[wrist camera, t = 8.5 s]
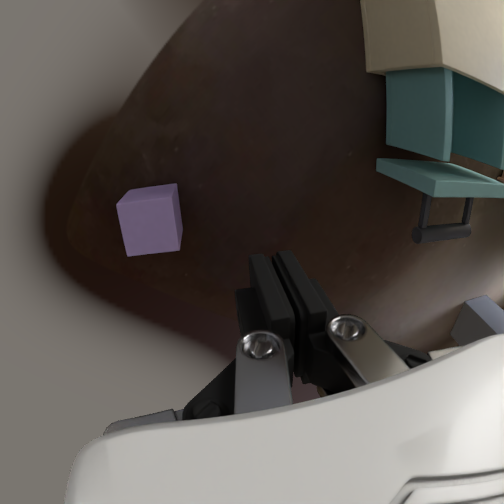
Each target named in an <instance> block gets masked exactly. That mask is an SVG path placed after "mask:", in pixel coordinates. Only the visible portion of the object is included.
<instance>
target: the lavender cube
mask: <svg viewBox="0 0 504 504" xmlns="http://www.w3.org/2000/svg"><path fill="white" fill-rule="evenodd" d="M116 207H117V212H118V217H119V222H120V227H121V231H122V236H123V240H124V244H125V249H126V253H127V256H135V255H144V254H153V253H162V252H171V251H179V250H180V245H181V238H182V232H183V226H182V219H181V212H180V204H179V196H178V188H177V183H175V184H167V185H159V186H152V187H145V188H138V189H132V190H129V191H128V192H127V193H126V194H125V195H124V196H123V197H122V199H121V200H120V201H119V202H118V203H117V204H116Z"/></svg>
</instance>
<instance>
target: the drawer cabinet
mask: <svg viewBox="0 0 504 504" xmlns="http://www.w3.org/2000/svg"><path fill="white" fill-rule="evenodd" d="M360 4H361V12H362V21H363V31H364V43H365V57H366V72H368V73H374V74H379V75H384V76H386V72H387V71H395V70H405V69H416V68H431V67H444V68H446V69H449V70H452V71H454V72H457V73H459V74H461V75H464V76H466V77H468V78H471V79H473V80H475V81H477V82H479V83H481V84H484V85H486V86H488V87H490V88H492V89H494V90H496V91H497V92H499V93H501V94H503V95H504V0H360Z"/></svg>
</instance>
